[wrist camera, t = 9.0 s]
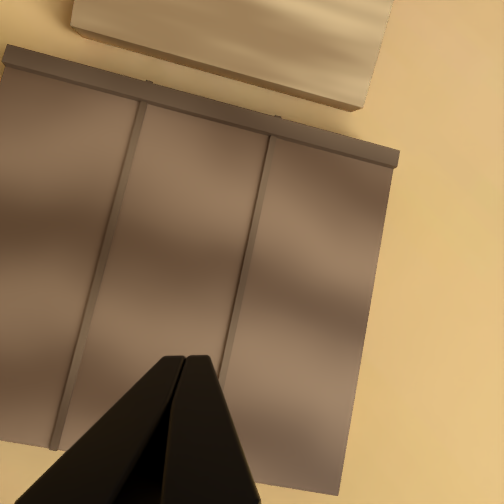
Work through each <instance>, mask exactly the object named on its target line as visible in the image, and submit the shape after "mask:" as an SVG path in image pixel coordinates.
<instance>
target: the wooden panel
mask: <svg viewBox="0 0 504 504" xmlns="http://www.w3.org/2000/svg"><path fill="white" fill-rule="evenodd" d="M2 62H3V64H4V65H5V69H4V72H3V76H2V79H1V82H0V440H1V441H7V442H13V443H19V444H25V445H31V446H38V447H44V448H49V450H53V451H57V450H62V451H67V450H68V449H69V448H70V447H71V446H72V445H73V444H74V443H75V442H76V441H77V440H78V439H79V438H80V437H81V436H82V435H83V434H84V433H86V432H87V431H88V430H89V429H90V428H91V427H92V426H93V425H94V424H95V423H96V422H97V421H98V420H99V419H100V418H101V417H102V416H103V415H104V414H105V413H106V412H107V411H108V410H109V409H110V408H111V407H112V406H113V405H114V404H115V403H116V402H117V401H118V400H119V399H120V398H121V397H122V396H123V395H124V394H125V393H126V392H127V391H128V390H129V389H130V388H131V387H132V386H133V385H134V384H135V383H136V382H137V381H138V380H139V379H140V378H141V377H142V376H143V375H144V374H145V373H146V372H147V371H149V370H150V369H151V368H152V367H153V366H154V365H155V364H156V363H157V362H158V361H159V360H160V359H161V358H162V357H164V356H171V355H184V356H185V357H186V358H187V357H188V356H189V355H209V356H210V357H211V360H212V363H213V366H214V369H215V371H216V374H217V377H218V380H219V383H220V386H221V388H222V391H223V394H224V397H225V400H226V403H227V405H228V408H229V411H230V414H231V417H232V420H233V422H234V425H235V428H236V431H237V434H238V437H239V439H240V442H241V445H242V448H243V451H244V454H245V456H246V459H247V462H248V465H249V468H250V471H251V473H252V476H253V479H254V482H256V483H262V484H268V485H274V486H280V487H286V488H292V489H298V490H304V491H310V492H316V493H322V494H328V495H334V496H338V493H339V487H340V482H341V476H342V470H343V464H344V458H345V452H346V446H347V440H348V434H349V428H350V422H351V416H352V411H353V405H354V399H355V393H356V387H357V381H358V375H359V369H360V363H361V357H362V351H363V345H364V339H365V334H366V328H367V322H368V316H369V310H370V304H371V298H372V292H373V286H374V280H375V274H376V268H377V263H378V257H379V251H380V245H381V239H382V233H383V227H384V221H385V215H386V209H387V203H388V197H389V192H390V186H391V180H392V174H393V169H394V168H396V167H397V165H398V159H399V153H400V151H399V150H396V149H392V148H388V147H385V146H381V145H377V144H374V143H370V142H366V141H363V140H359V139H355V138H352V137H348V136H344V135H341V134H337V133H333V132H330V131H326V130H322V129H319V128H315V127H311V126H307V125H304V124H300V123H296V122H293V121H289V120H285V119H282V118H281V117H280V116H276V115H275V116H271V115H267V114H263V113H260V112H256V111H252V110H249V109H245V108H241V107H238V106H234V105H230V104H226V103H223V102H219V101H215V100H212V99H208V98H204V97H201V96H197V95H193V94H190V93H186V92H182V91H179V90H175V89H171V88H168V87H164V86H160V85H156V84H153V82H151V81H148V80H146V82H145V81H142V80H138V79H134V78H131V77H127V76H123V75H120V74H116V73H112V72H109V71H105V70H101V69H98V68H94V67H90V66H87V65H83V64H79V63H75V62H72V61H68V60H64V59H61V58H57V57H53V56H50V55H46V54H42V53H39V52H35V51H31V50H28V49H24V48H20V47H17V46H13V45H8V44H7V46H6V49H5V53H4V56H3V59H2Z"/></svg>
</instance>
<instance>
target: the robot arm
mask: <svg viewBox="0 0 504 504" xmlns="http://www.w3.org/2000/svg"><path fill="white" fill-rule="evenodd" d="M14 504H261V499H260V496H259V493H258V490H257V488H256V485H255V482H254V479H253V476H252V473H251V471H250V468H249V465H248V462H247V459H246V456H245V454H244V451H243V448H242V445H241V442H240V439H239V437H238V434H237V431H236V428H235V425H234V422H233V420H232V417H231V414H230V411H229V408H228V405H227V403H226V400H225V397H224V394H223V391H222V388H221V386H220V383H219V380H218V377H217V374H216V371H215V369H214V366H213V363H212V360H211V357H210V356H209V355H189V356H188V357H187V358H186V357H185V356H184V355H171V356H164V357H162V358H161V359H160V360H159V361H158V362H157V363H156V364H155V365H154V366H153V367H152V368H151V369H150V370H149V371H147V372H146V373H145V374H144V375H143V376H142V377H141V378H140V379H139V380H138V381H137V382H136V383H135V384H134V385H133V386H132V387H131V388H130V389H129V390H128V391H127V392H126V393H125V394H124V395H123V396H122V397H121V398H120V399H119V400H118V401H117V402H116V403H115V404H114V405H113V406H112V407H111V408H110V409H109V410H108V411H107V412H106V413H105V414H104V415H103V416H102V417H101V418H100V419H99V420H98V421H97V422H96V423H95V424H94V425H93V426H92V427H91V428H90V429H89V430H88V431H87V432H86V433H84V434H83V435H82V436H81V437H80V438H79V439H78V440H77V441H76V442H75V443H74V444H73V445H72V446H71V447H70V448H69V449H68V450H67V451H66V452H65V453H64V454H63V455H62V456H61V457H60V458H59V459H58V460H57V461H56V462H55V463H54V464H53V465H52V466H51V467H50V468H49V469H48V470H47V471H46V472H45V473H44V474H43V475H42V476H41V477H40V478H39V479H38V480H37V481H36V482H35V483H34V484H33V485H32V486H31V487H30V488H29V489H28V490H27V491H26V492H25V493H24V494H23V495H21V496H20V497H19V498H18V499H17V500H16V501H15V503H14Z"/></svg>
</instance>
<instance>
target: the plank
mask: <svg viewBox="0 0 504 504" xmlns="http://www.w3.org/2000/svg"><path fill="white" fill-rule="evenodd" d="M393 1H394V0H74V5H73V11H72V17H71V23H70V26H71V27H72V28H73V29H75V30H76V31H77V32H78V33H79V34H80V35H81V36H82V37H84V38H87V39H91V40H95V41H98V42H102V43H105V44H109V45H113V46H116V47H120V48H123V49H127V50H130V51H134V52H138V53H141V54H145V55H148V56H152V57H156V58H159V59H163V60H166V61H170V62H173V63H177V64H181V65H184V66H188V67H191V68H195V69H199V70H202V71H206V72H209V73H213V74H216V75H220V76H224V77H227V78H231V79H234V80H238V81H242V82H245V83H249V84H252V85H256V86H260V87H263V88H267V89H270V90H274V91H277V92H281V93H285V94H288V95H292V96H295V97H299V98H303V99H306V100H310V101H313V102H317V103H320V104H324V105H328V106H331V107H335V108H338V109H342V110H346V111H349V112H353V111H356V110H358V109H361V108H363V107H364V103H365V100H366V96H367V93H368V89H369V86H370V82H371V78H372V75H373V71H374V68H375V64H376V61H377V57H378V54H379V50H380V47H381V43H382V40H383V36H384V33H385V29H386V26H387V22H388V19H389V15H390V12H391V8H392V5H393Z"/></svg>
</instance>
